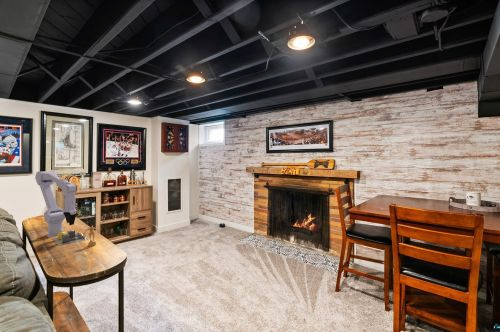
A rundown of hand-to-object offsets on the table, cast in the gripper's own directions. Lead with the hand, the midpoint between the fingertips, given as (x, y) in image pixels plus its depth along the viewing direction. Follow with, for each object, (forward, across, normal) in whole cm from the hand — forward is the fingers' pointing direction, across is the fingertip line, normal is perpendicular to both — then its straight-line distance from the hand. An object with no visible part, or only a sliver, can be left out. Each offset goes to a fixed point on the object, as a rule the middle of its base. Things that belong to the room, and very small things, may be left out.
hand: (70, 223), depth 154 cm
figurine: (+10, +25, +6) cm, 28 cm away
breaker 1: (+8, +8, -4) cm, 12 cm away
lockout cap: (+8, +1, -5) cm, 10 cm away
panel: (+10, +6, -1) cm, 11 cm away
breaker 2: (+8, 0, +1) cm, 8 cm away
